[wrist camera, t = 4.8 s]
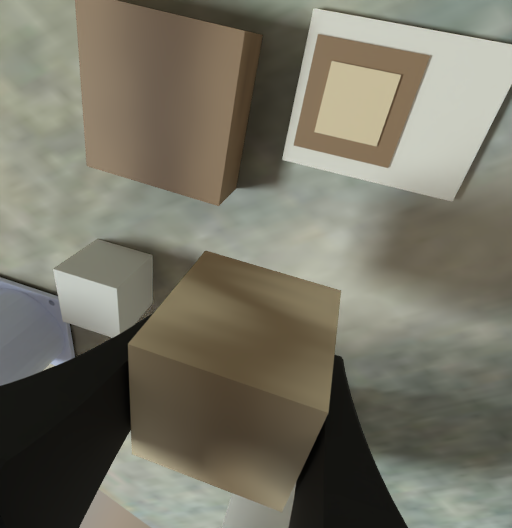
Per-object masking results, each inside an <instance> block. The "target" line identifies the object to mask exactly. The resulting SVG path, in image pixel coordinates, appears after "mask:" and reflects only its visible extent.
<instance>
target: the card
mask: <svg viewBox="0 0 512 528" xmlns="http://www.w3.org/2000/svg"><path fill="white" fill-rule="evenodd" d="M511 85H512V44H506V43H501V42H495V41H490V40H485V39H479V38H474V37H468V36H463V35H457V34H452V33H446V32H441V31H436V30H430V29H425V28H419V27H414V26H408V25H403V24H397V23H392V22H387V21H381V20H376V19H370V18H365V17H359V16H354V15H349V14H343V13H338V12H332V11H327V10H321V9H316V8H313V13H312V18H311V23H310V28H309V32H308V37H307V42H306V47H305V52H304V57H303V61H302V66H301V71H300V76H299V81H298V85H297V90H296V95H295V100H294V105H293V109H292V114H291V119H290V124H289V129H288V134H287V138H286V143H285V148H284V153H283V158H282V160H285V161H289V162H293V163H297V164H301V165H305V166H309V167H313V168H317V169H321V170H325V171H329V172H333V173H337V174H341V175H346V176H350V177H354V178H358V179H362V180H366V181H370V182H374V183H378V184H382V185H386V186H390V187H394V188H398V189H402V190H406V191H411V192H415V193H419V194H423V195H427V196H431V197H435V198H439V199H443V200H447V201H451V202H453V200H454V198H455V196H456V194H457V192H458V190H459V188H460V186H461V184H462V182H463V180H464V178H465V176H466V174H467V172H468V170H469V168H470V166H471V164H472V162H473V160H474V158H475V156H476V154H477V152H478V150H479V148H480V146H481V144H482V142H483V140H484V138H485V136H486V134H487V132H488V130H489V128H490V126H491V124H492V122H493V120H494V118H495V116H496V114H497V112H498V110H499V108H500V106H501V104H502V102H503V101H504V99H505V97H506V95H507V93H508V91H509V89H510V87H511Z"/></svg>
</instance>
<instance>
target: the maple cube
mask: <svg viewBox="0 0 512 528" xmlns="http://www.w3.org/2000/svg"><path fill="white" fill-rule="evenodd" d="M340 295H341V290H337V289H334V288H330V287H327V286H324V285H320V284H317V283H313V282H310V281H307V280H303V279H300V278H297V277H293V276H290V275H286V274H283V273H280V272H276V271H273V270H269V269H266V268H263V267H259V266H256V265H252V264H249V263H246V262H242V261H239V260H236V259H232V258H229V257H225V256H222V255H219V254H215V253H212V252H208V251H205V252H204V253H203V254H202V256H201V257H200V258H199V259H198V260H197V262H196V263H195V264H194V265H193V266H192V268H191V269H190V270H189V271H188V272H187V274H186V275H185V276H184V277H183V278H182V280H181V281H180V282H179V283H178V284H177V286H176V287H175V288H174V289H173V290H172V292H171V293H170V294H169V295H168V296H167V298H166V299H165V300H164V301H163V302H162V304H161V305H160V306H159V307H158V308H157V310H156V311H155V312H154V313H153V314H152V316H151V317H150V318H149V319H148V320H147V322H146V323H145V324H144V325H143V326H142V328H141V329H140V330H139V331H138V332H137V334H136V335H135V336H134V337H133V338H132V340H131V341H130V342H129V343H128V361H129V388H130V415H131V442H132V454H133V455H136V456H138V457H141V458H143V459H146V460H149V461H151V462H154V463H156V464H159V465H161V466H164V467H167V468H169V469H172V470H174V471H177V472H179V473H182V474H185V475H187V476H190V477H192V478H195V479H197V480H200V481H203V482H205V483H208V484H210V485H213V486H215V487H218V488H221V489H223V490H226V491H228V492H231V493H233V494H236V495H239V496H241V497H244V498H246V499H249V500H251V501H254V502H257V503H259V504H262V505H264V506H267V507H269V508H272V509H275V510H277V511H280V512H282V511H283V509H284V507H285V505H286V503H287V500H288V498H289V496H290V494H291V492H292V490H293V488H294V485H295V483H296V481H297V479H298V477H299V475H300V473H301V470H302V468H303V466H304V464H305V462H306V460H307V458H308V456H309V453H310V451H311V449H312V447H313V445H314V443H315V441H316V438H317V436H318V434H319V432H320V430H321V428H322V426H323V423H324V421H325V419H326V417H327V415H328V412H329V403H330V393H331V383H332V373H333V364H334V354H335V344H336V334H337V324H338V315H339V305H340Z"/></svg>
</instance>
